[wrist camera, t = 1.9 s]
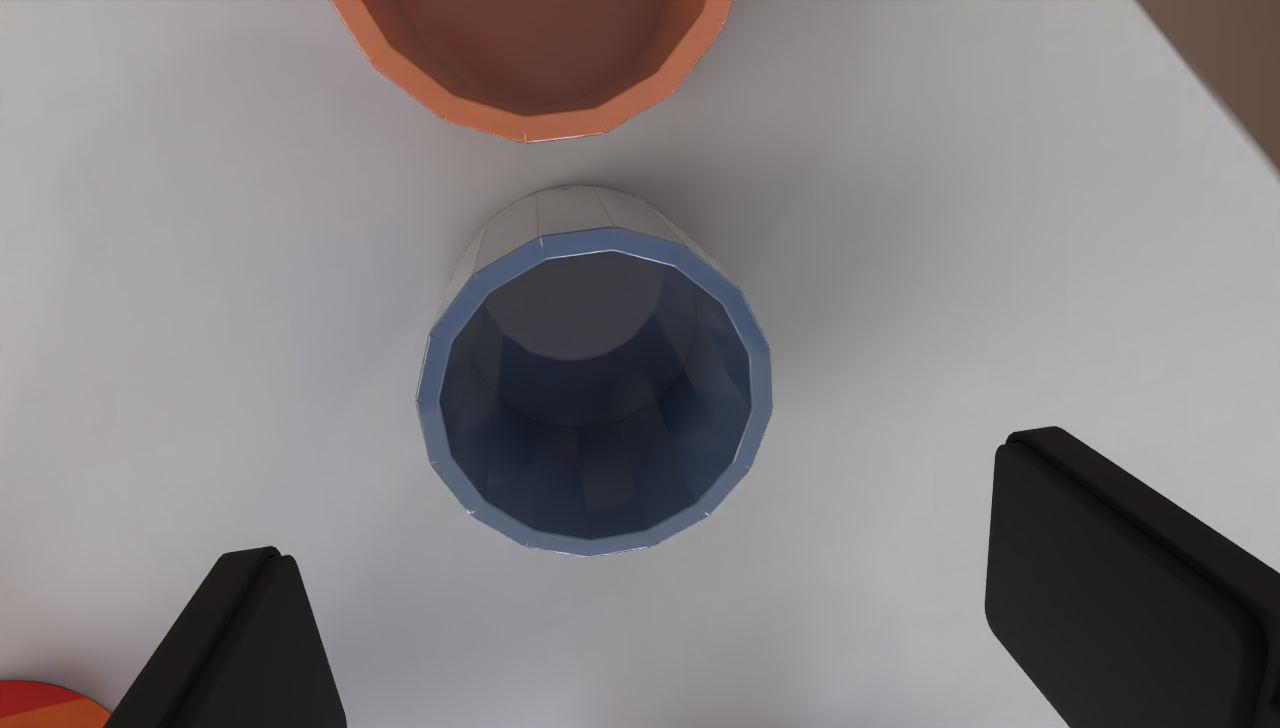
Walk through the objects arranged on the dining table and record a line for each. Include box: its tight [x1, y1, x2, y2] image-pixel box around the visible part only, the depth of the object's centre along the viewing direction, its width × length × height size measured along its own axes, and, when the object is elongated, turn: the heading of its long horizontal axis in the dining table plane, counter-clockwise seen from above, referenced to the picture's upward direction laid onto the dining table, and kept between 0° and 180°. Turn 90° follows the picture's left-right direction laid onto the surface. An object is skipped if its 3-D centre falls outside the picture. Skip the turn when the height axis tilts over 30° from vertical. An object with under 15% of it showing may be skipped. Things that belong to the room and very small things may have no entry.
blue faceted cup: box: [415, 185, 773, 557], centre depth 18 cm, size 7×7×6 cm
